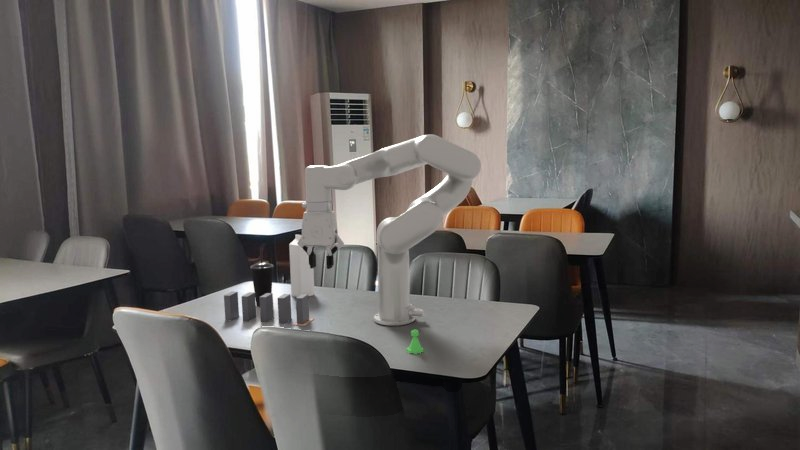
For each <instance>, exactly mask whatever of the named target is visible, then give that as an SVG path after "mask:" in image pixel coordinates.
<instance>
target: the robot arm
mask: <svg viewBox="0 0 800 450" xmlns="http://www.w3.org/2000/svg"><path fill="white" fill-rule="evenodd" d="M426 165H429V166H431V167H433V168H434V169H437V170H439V171H442V172H443V173H446V175H445V178H443V180H442V181H441V182H440V183H439V184H437V185H436V186H435V187H434V188H432V189H431V190H429V191H428V192H426V193H425V194H423V195H421V196H419V197H418V198H417V199H414V200H413V201H412V202H411V203H410V204H409V206H408V207H407V210H406V211H405V212H403V213H402V214H400V215H399V216H397V217H395V216H390V217H386V218H385V219H383V220H381V222H380V223H378V226H377V229H376V250H377V251H376V252H377V287H378V288H377V290H378V291H377V293H378V313H375V314H374V316H373V321H374V322H375V323H376V324H378V325H383V326H389V327H390V326H392V327H393V326H394V327H395V326H403V325H408V324H412V323H413V322H414V321H415V320H416V317H419V318H420V317H421V318H422V317H424V315H425V313H424V312H425V311H424V310H423V309H421V308H415V307H413V304H412V303H411V302H410V299H411V297H410V293H411V292H410V290H411V289H410V249H412V248H413V247H414V246H416V245H418V244H419V243H420V242H422V241H423V240H424V239H426V238H427V237H429V236H431V235H432V234H433V233H434V232H436V231H437V230H438V228H439V227H440V226H441V225H442V222H443V219H444V216H445V215H447V214H449V213H450V212H451V211H452V210H453V209H455V208H456V207H457V206H459V205H460V204H461V203H463V202H464V200H465V199H466V197H467V196H468V194H469V192H470V191H471V188H472V184H473V180H474V179H476V177H478V176H479V174H480V172H481V169H482V162H481V159H480V157H479V156H478V155H477V154H476V153H475V152H472V151H471V150H468V149H466V148H465V147H462V146H459V145H457V144H456V143H453V142H451V141H449V140H448V139H447V140H446V139H445V138H443V137H441V136H438V135H436V134H432V133H431V134H423V135H420V136H417V137H414V138H411V139H408V140H405V141H401V142H400V143H396V144H392V145H389V146H386V147H384V148H383V147H382V148H381V149H379V150H376V151H374V152H371V153H369V154H367V155H363V156H361V157H357V158H354V159H351V160H347V161H345V162H342V163H340V164H337V165H330V166H328V165H322V164H321V165H319V164H317V165H316V164H315V165H309V166H306V167H305V170H304V178H305V179H304V181H305V185H304V186H305V202H303V203H301V208H303V209H305V211H304V212H303V215H302V223H301V235H302V237H301V238H300V240H299V241H298V243H297V244H298V245H299V246H300V247H301V248H303V250H304V251H305V252H306V253H307V255H309V265H310V268H316V267H317V255H316V253H315V249H316V247H325V248H326V251H327V255H326V256H325V258H326V269H327V270H331V269H332V268H333V267H334V263H335V262H334V261H335V260H334V258H335V257H334V255H335V253H337V251H338V250H339V249H341V248H342V247H343V246H344V245H345V242H344V241H343V240H342V238H341V237H340V236H339V234H338V233H339V231H338V224H337V223H338V222H337V219H336V215H335V211H333V203H332V202H333V199H332V197H333V195H332V190H337V191H347V190H350V189H352V188H353V187H354V186H355V185H358V184H362V183H364V182H367V181H371V180H373V179H379V178H384V177H385V178H387V177H392V176H396V175H398V174H402V173H404V172H409V171H410V170H413V169H414V170H415V169H417V168H419V167H420V168H421V167H423V166H426ZM334 244H335V246H334Z"/></svg>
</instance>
